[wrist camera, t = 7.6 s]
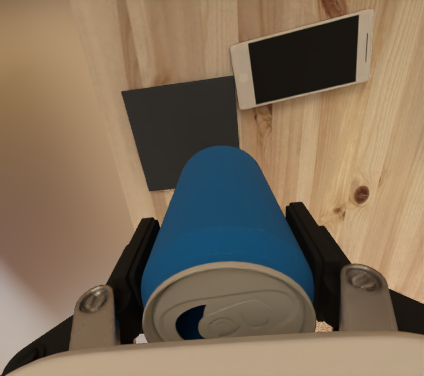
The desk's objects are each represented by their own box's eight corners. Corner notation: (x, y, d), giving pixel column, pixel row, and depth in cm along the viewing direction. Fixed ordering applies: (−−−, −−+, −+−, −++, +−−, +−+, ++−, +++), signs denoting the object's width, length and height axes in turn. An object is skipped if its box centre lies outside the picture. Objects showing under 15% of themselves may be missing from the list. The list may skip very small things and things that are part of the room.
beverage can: (165, 167, 18) (85, 302, 7) (239, 126, 16) (286, 217, 5) (206, 227, 20) (193, 399, 9) (274, 196, 19) (354, 356, 8)
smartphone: (229, 46, 26) (229, 45, 25) (369, 9, 24) (375, 7, 24) (239, 109, 29) (240, 110, 28) (364, 80, 28) (369, 80, 27)
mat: (122, 91, 29) (121, 91, 28) (233, 75, 28) (233, 75, 27) (150, 189, 35) (149, 191, 34) (241, 179, 34) (241, 181, 33)
